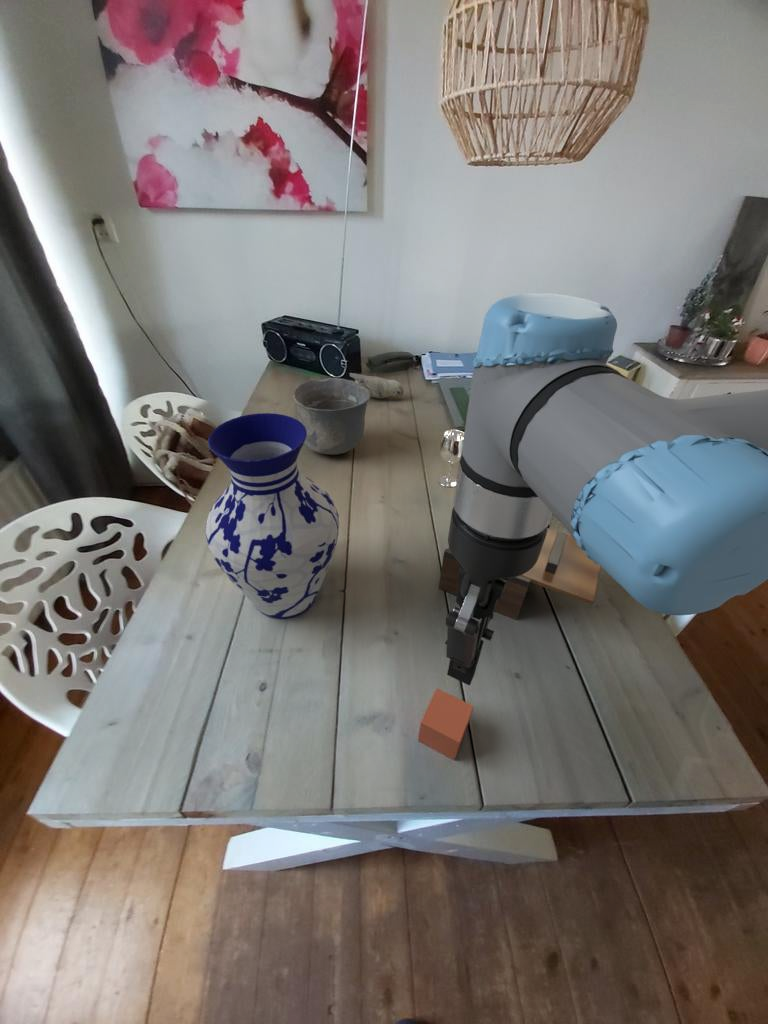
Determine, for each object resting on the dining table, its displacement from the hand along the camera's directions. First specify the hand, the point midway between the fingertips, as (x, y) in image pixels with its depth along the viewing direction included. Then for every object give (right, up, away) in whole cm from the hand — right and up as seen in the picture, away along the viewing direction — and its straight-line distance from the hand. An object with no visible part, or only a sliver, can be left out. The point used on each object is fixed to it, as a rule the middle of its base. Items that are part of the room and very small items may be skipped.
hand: (460, 674), depth 49 cm
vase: (-25, +5, +25) cm, 35 cm away
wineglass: (+6, +25, +51) cm, 57 cm away
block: (-1, -10, +7) cm, 12 cm away
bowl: (-21, +34, +61) cm, 73 cm away
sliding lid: (+19, +11, +21) cm, 30 cm away
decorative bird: (-11, +53, +84) cm, 100 cm away
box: (+10, +7, +29) cm, 32 cm away
